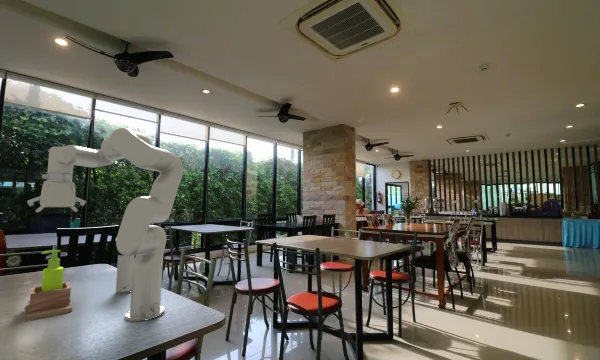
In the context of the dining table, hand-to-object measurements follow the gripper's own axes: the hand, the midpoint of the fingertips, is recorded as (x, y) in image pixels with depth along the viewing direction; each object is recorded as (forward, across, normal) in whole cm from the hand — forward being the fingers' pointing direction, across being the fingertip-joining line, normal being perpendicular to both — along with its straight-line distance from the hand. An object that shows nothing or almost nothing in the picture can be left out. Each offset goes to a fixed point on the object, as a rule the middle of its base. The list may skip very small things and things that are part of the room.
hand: (56, 222), depth 107 cm
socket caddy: (+32, 0, 0) cm, 32 cm away
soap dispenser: (+31, 0, 0) cm, 31 cm away
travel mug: (+32, +25, +3) cm, 41 cm away
